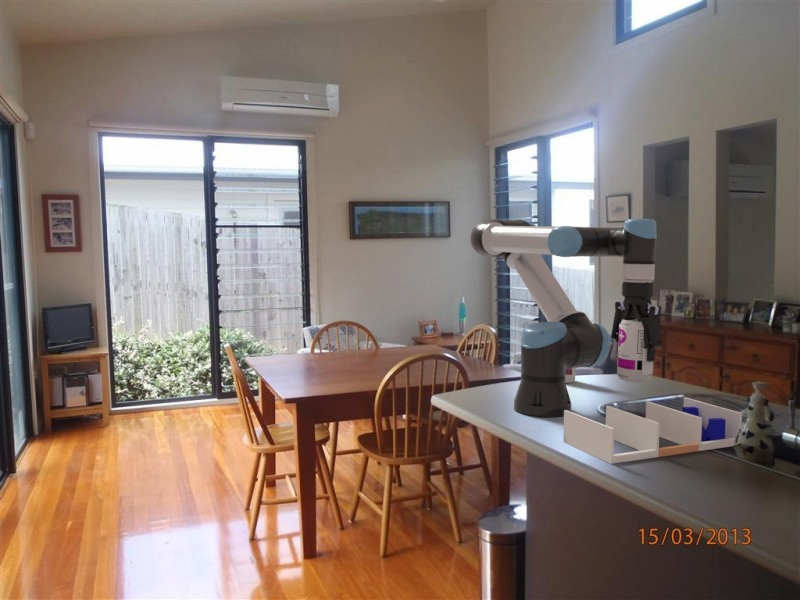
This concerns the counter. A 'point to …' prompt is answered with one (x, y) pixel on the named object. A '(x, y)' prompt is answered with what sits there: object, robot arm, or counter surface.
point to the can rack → (649, 431)
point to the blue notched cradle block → (709, 426)
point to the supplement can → (631, 351)
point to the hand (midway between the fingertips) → (634, 370)
